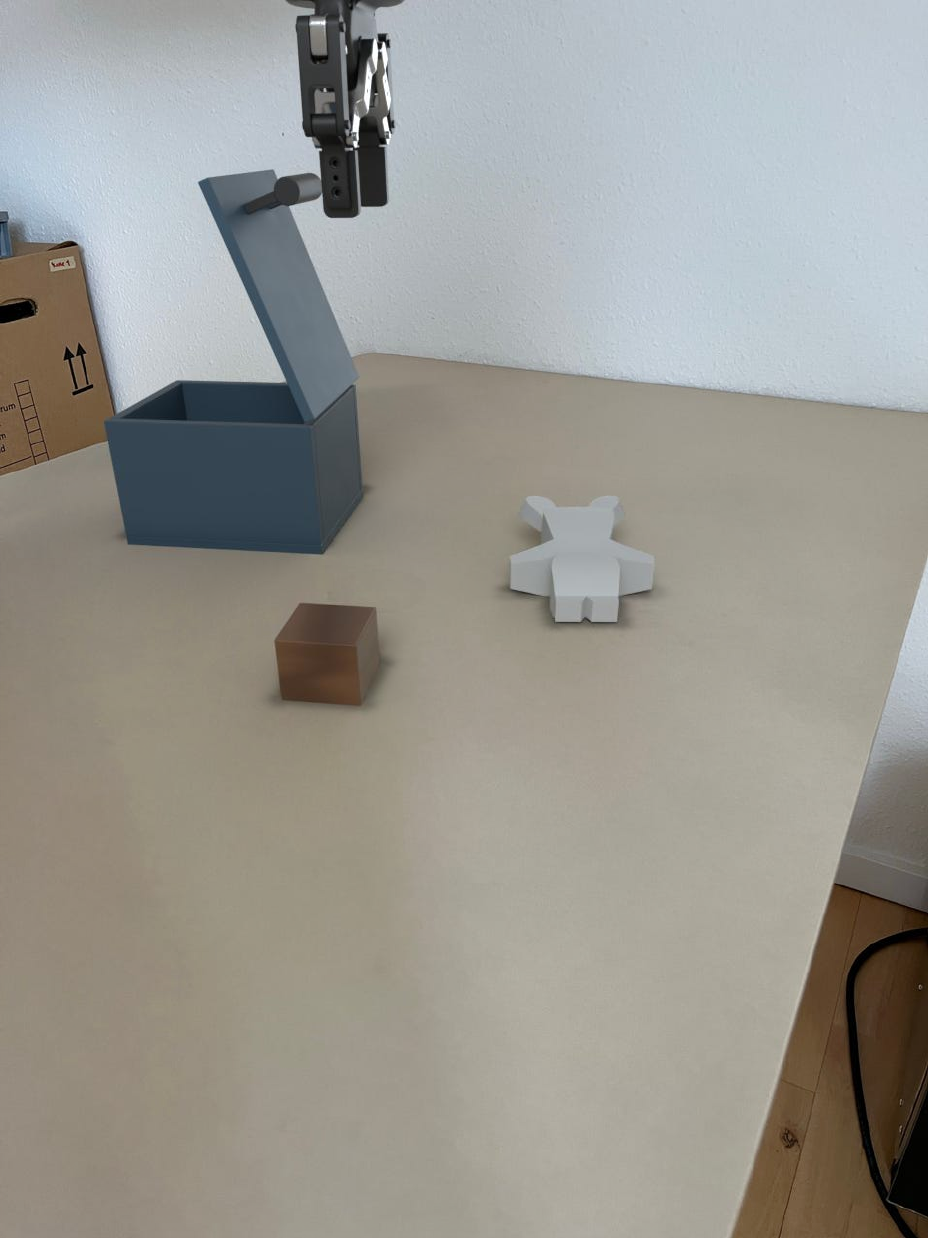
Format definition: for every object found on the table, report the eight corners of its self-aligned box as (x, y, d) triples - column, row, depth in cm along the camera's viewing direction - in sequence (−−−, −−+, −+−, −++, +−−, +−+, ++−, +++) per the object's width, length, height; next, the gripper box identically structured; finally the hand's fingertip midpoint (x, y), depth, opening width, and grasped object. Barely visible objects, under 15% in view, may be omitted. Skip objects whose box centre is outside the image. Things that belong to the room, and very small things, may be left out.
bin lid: (197, 181, 60) (265, 150, 58) (264, 173, 71) (323, 146, 69) (304, 423, 66) (368, 400, 64) (351, 380, 77) (406, 360, 76)
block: (282, 711, 52) (273, 639, 50) (306, 669, 56) (299, 602, 54) (361, 717, 51) (356, 645, 49) (380, 675, 55) (376, 606, 53)
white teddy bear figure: (510, 579, 57) (508, 471, 69) (509, 647, 60) (507, 532, 72) (667, 579, 57) (637, 471, 69) (659, 647, 60) (631, 532, 72)
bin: (127, 545, 73) (103, 420, 68) (193, 490, 84) (176, 379, 79) (321, 555, 71) (310, 427, 66) (363, 497, 82) (355, 384, 77)
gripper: (310, -69, 61) (331, 204, 68) (234, -119, 48) (269, 221, 56) (424, -74, 60) (432, 203, 67) (376, -127, 47) (393, 221, 55)
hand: (358, 211), depth 62 cm, fingers open, 8 cm apart
